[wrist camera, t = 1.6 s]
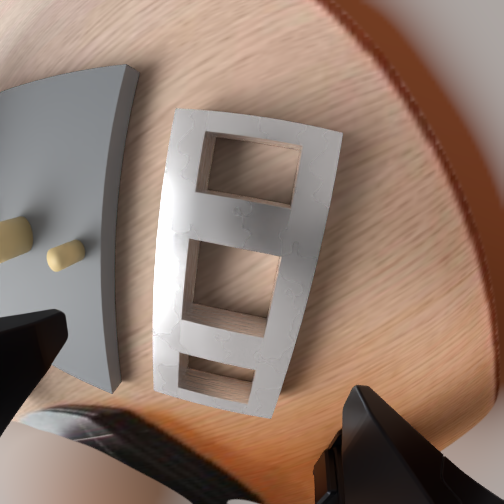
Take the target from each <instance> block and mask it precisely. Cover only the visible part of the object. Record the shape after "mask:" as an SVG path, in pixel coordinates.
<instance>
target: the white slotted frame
mask: <svg viewBox="0 0 504 504" xmlns="http://www.w3.org/2000/svg"><path fill="white" fill-rule="evenodd" d="M342 136H343V133H341V132H337V131H333V130H329V129H324V128H320V127H315V126H311V125H306V124H301V123H295V122H290V121H285V120H279V119H273V118H266V117H260V116H253V115H245V114H237V113H229V112H219V111H208V110H195V109H178V108H176V110H175V115H174V120H173V125H172V130H171V136H170V142H169V148H168V154H167V160H166V167H165V174H164V181H163V188H162V196H161V205H160V214H159V223H158V234H157V246H156V259H155V276H154V298H153V380H154V391H157V392H160V393H163V394H167V395H170V396H173V397H177V398H180V399H183V400H187V401H191V402H194V403H198V404H202V405H206V406H210V407H214V408H218V409H223V410H227V411H232V412H237V413H242V414H247V415H252V416H258V417H264V418H270V419H271V418H272V415H273V412H274V409H275V406H276V403H277V400H278V397H279V394H280V391H281V388H282V385H283V382H284V379H285V376H286V372H287V369H288V366H289V363H290V360H291V356H292V353H293V350H294V346H295V343H296V339H297V336H298V333H299V329H300V326H301V322H302V318H303V315H304V311H305V308H306V304H307V300H308V296H309V292H310V289H311V285H312V281H313V277H314V273H315V269H316V265H317V261H318V256H319V252H320V248H321V244H322V239H323V235H324V230H325V226H326V221H327V217H328V212H329V207H330V202H331V197H332V192H333V187H334V182H335V177H336V171H337V166H338V160H339V154H340V149H341V143H342ZM216 137H218V138H226V139H234V140H241V141H248V142H255V143H261V144H267V145H273V146H278V147H284V148H289V149H294V150H300V155H299V160H298V166H297V171H296V177H295V182H294V187H293V193H292V198H291V203H290V205H289V204H284V203H279V202H274V201H269V200H263V199H258V198H252V197H247V196H241V195H235V194H229V193H223V192H217V191H211V190H208V184H209V177H210V171H211V165H212V159H213V153H214V147H215V142H216ZM200 241H205V242H210V243H215V244H220V245H225V246H230V247H235V248H240V249H245V250H251V251H256V252H261V253H266V254H271V255H276V256H280V258H279V263H278V268H277V273H276V278H275V282H274V287H273V292H272V296H271V301H270V305H269V310H268V314H267V318H262V317H257V316H252V315H247V314H243V313H238V312H233V311H228V310H224V309H219V308H215V307H210V306H206V305H202V304H197V303H193V301H194V291H195V282H196V273H197V264H198V256H199V248H200ZM189 355H191V356H195V357H199V358H203V359H207V360H211V361H216V362H220V363H224V364H229V365H233V366H238V367H243V368H248V369H253V370H255V371H254V375H253V379H252V382H249V381H244V380H239V379H234V378H229V377H225V376H221V375H216V374H212V373H208V372H204V371H200V370H196V369H192V368H189V367H188V360H189Z"/></svg>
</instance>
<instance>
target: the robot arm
mask: <svg viewBox="0 0 504 504" xmlns="http://www.w3.org/2000/svg"><path fill="white" fill-rule="evenodd" d="M67 339H68V328H67V321H66V315H65V313H64V312H62V311H60V310H57V309H48V310H43V311H37V312H31V313H24V314H18V315H12V316H6V317H0V437H1V435H2V433H3V432H4V430H5V429H6V427H7V426H8V425H9V423H10V422H11V420H12V419H13V417H14V416H15V414H16V413H17V412H18V410H19V409H20V407H21V406H22V404H23V403H24V402H25V400H26V399H27V398H28V396H29V395H30V394H31V392H32V391H33V390H34V388H35V387H36V386H37V384H38V383H39V382H40V380H41V379H42V378H43V376H44V375H45V374H46V372H47V371H48V369H49V368H50V366H51V365H52V363H53V361H54V360H55V358H56V357H57V355H58V354H59V352H60V350H61V349H62V347H63V346H64V344H65V343H66V341H67ZM313 475H314V481H315V504H504V500H502V499H501V498H499V497H498V496H496V495H495V494H493V493H492V492H490V491H489V490H487V489H486V488H485V487H483V486H482V485H480V484H479V483H477V482H476V481H475V480H473V479H472V478H471V477H469V476H468V475H466V474H465V473H464V472H463V471H461V470H460V469H459V468H458V467H457V466H456V465H454V464H453V463H452V462H451V461H450V460H449V459H448V458H446V457H443V454H442V453H441V452H440V451H439V450H437V449H436V448H435V447H434V446H433V445H432V444H431V443H430V442H429V441H428V440H426V439H425V438H424V437H423V436H422V435H421V434H420V433H419V432H418V431H417V430H415V429H414V428H413V427H412V426H411V425H410V424H409V423H408V422H407V421H406V420H405V419H403V418H402V417H401V416H400V415H399V414H398V413H397V412H396V411H395V410H394V409H393V408H392V407H390V406H389V405H388V404H387V403H386V402H385V401H384V400H383V399H382V398H381V397H380V396H379V395H378V394H376V393H375V392H374V391H373V390H372V389H371V388H370V387H369V386H364V385H355V386H354V387H353V388H352V390H351V392H350V394H349V396H348V398H347V400H346V402H345V404H344V407H343V417H342V430H340V431H338V432H337V434H336V435H335V437H334V439H333V440H332V442H331V444H330V445H329V447H328V448H327V449H326V450H325V451H324V452H323V453H322V455H321V456H320V458H319V459H318V461H317V462H316V464H315V465H314V470H313Z"/></svg>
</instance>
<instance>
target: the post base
mask: <svg viewBox="0 0 504 504" xmlns="http://www.w3.org/2000/svg"><path fill="white" fill-rule="evenodd" d="M139 74H140V72H138V71H137V70H135V69H133V68H132V67H130V66H129V65H127V64H124V65H115V66H107V67H100V68H93V69H87V70H82V71H76V72H71V73H66V74H61V75H57V76H53V77H49V78H45V79H41V80H37V81H33V82H30V83H26V84H23V85H20V86H17V87H14V88H10V89H8V90H5V91H2V92H0V317H6V316H12V315H18V314H24V313H31V312H37V311H43V310H48V309H57V310H60V311H62V312H64V313H65V315H66V321H67V328H68V339H67V341H66V343H65V344H64V346H63V347H62V349H61V350H60V352H59V354H58V355H57V357H56V358H55V360H54V361H53V363H52V365H53V366H55V367H57V368H58V369H60V370H62V371H64V372H66V373H68V374H70V375H72V376H74V377H76V378H78V379H80V380H82V381H84V382H86V383H88V384H91V385H93V386H95V387H97V388H99V389H102V390H104V391H106V392H109V393H111V394H113V392H114V391H115V390H116V388H117V387H118V386H119V384H120V383H121V374H120V365H119V356H118V344H117V331H116V313H115V237H116V219H117V206H118V195H119V185H120V176H121V168H122V160H123V153H124V147H125V141H126V135H127V129H128V123H129V118H130V113H131V108H132V103H133V99H134V94H135V90H136V86H137V82H138V78H139Z"/></svg>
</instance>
